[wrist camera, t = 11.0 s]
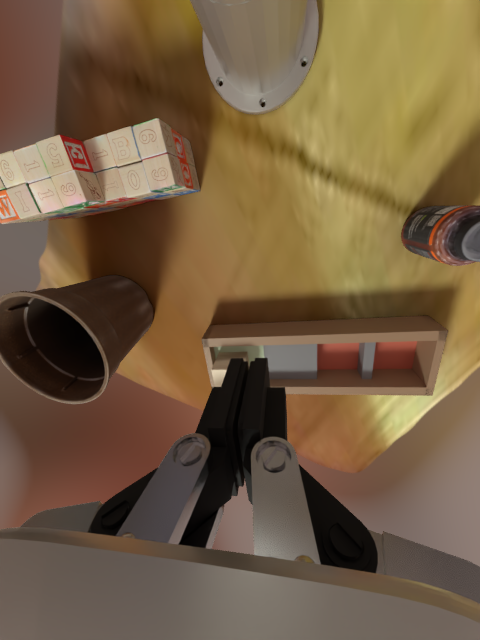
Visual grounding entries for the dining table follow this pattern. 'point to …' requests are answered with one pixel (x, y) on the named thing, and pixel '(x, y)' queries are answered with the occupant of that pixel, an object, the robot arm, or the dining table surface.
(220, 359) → the birch block
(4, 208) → the stack of blocks
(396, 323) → the track
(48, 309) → the plant pot
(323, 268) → the dining table surface
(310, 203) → the dining table surface
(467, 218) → the supplement bottle
